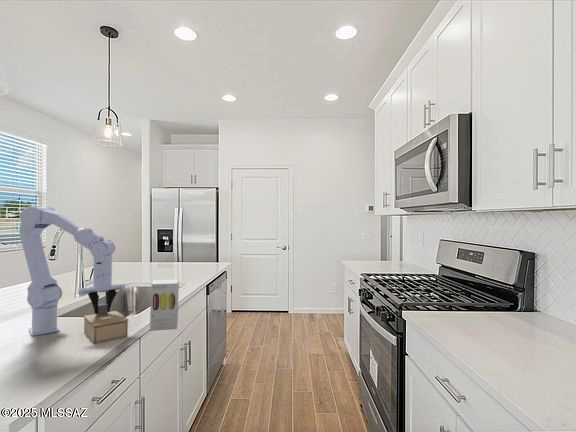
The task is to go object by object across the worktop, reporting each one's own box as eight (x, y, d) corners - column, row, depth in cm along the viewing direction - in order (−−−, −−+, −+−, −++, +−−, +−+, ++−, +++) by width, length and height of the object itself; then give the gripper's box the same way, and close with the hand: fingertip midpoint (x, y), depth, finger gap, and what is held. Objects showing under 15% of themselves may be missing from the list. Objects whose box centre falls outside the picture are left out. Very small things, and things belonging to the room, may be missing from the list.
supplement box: (149, 331, 119) (150, 283, 120) (152, 323, 128) (152, 279, 128) (177, 329, 122) (178, 282, 122) (178, 321, 131) (179, 278, 131)
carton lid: (83, 317, 117) (83, 305, 117) (115, 312, 124) (116, 301, 124) (93, 327, 106) (94, 314, 106) (128, 321, 113) (128, 308, 114)
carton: (84, 332, 117) (84, 318, 117) (115, 327, 124) (115, 313, 124) (94, 343, 107) (94, 328, 107) (127, 336, 113) (127, 321, 113)
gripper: (81, 277, 111) (80, 318, 111) (127, 273, 121) (127, 311, 121) (77, 275, 116) (76, 314, 116) (121, 271, 126) (121, 307, 126)
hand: (101, 312), depth 119 cm, fingers closed on carton lid, 3 cm apart
